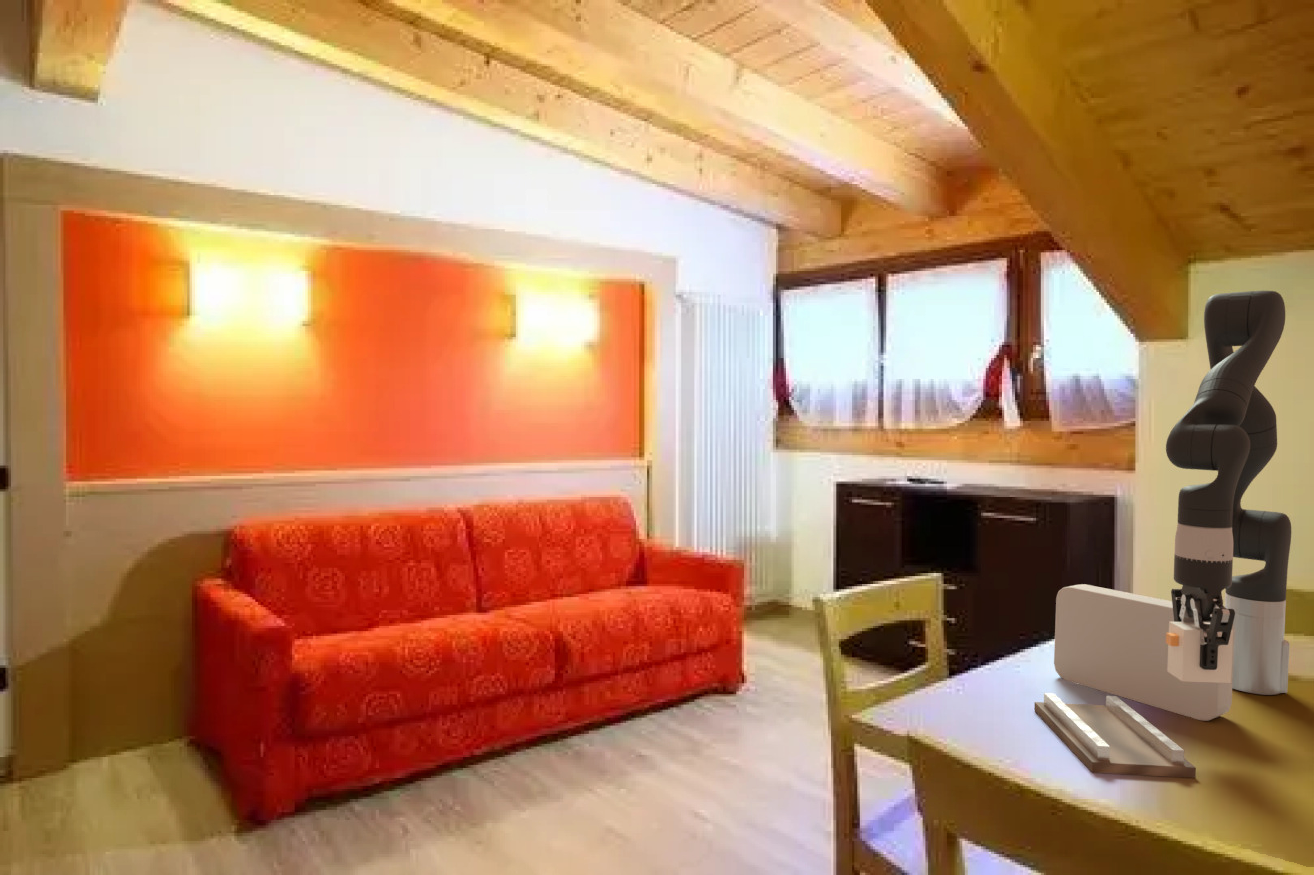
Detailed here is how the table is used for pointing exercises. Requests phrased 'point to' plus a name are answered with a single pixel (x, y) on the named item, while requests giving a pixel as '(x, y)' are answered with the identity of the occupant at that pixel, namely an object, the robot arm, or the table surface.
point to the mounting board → (1114, 744)
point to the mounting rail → (1125, 715)
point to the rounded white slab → (1128, 651)
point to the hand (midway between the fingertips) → (1199, 663)
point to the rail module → (1195, 655)
